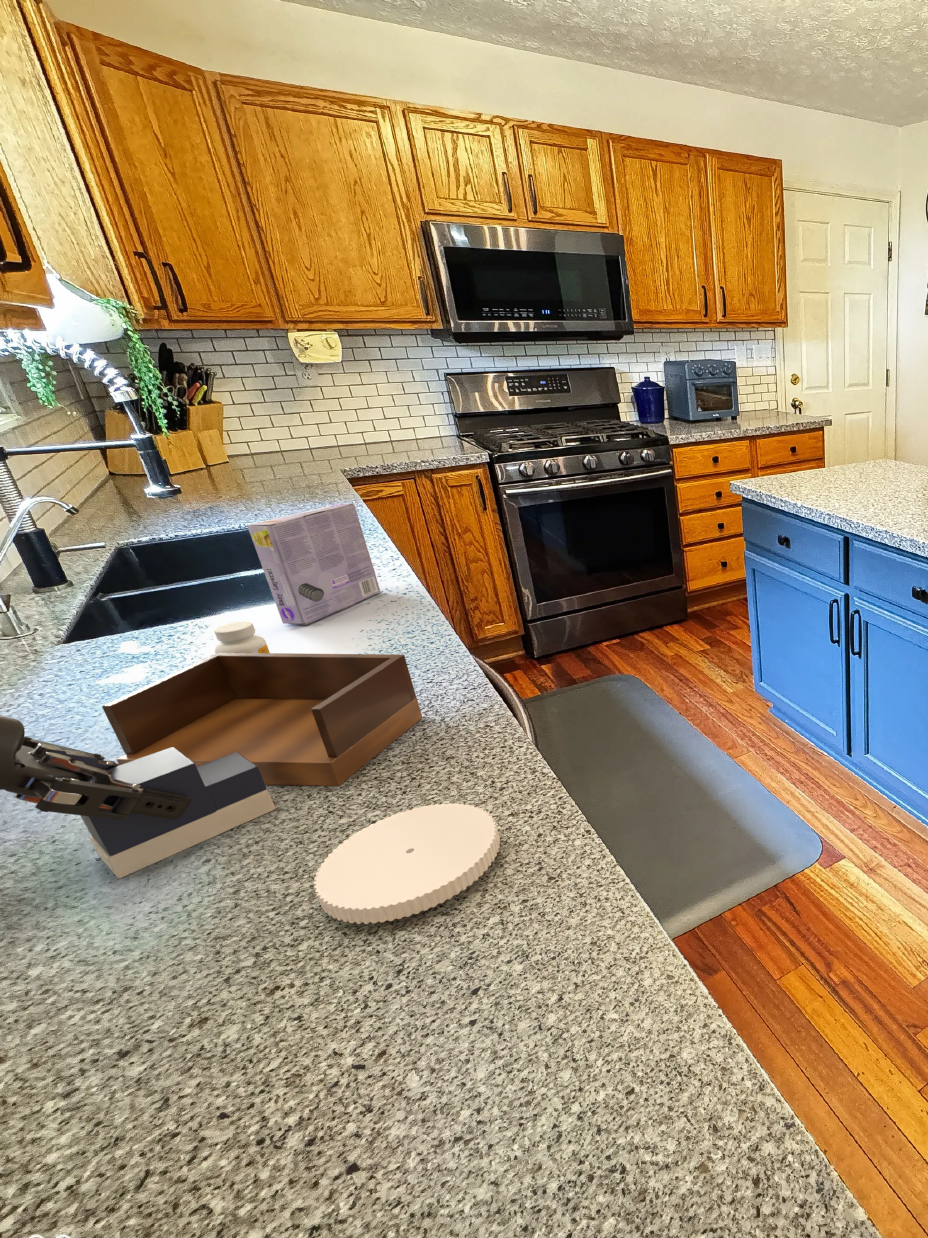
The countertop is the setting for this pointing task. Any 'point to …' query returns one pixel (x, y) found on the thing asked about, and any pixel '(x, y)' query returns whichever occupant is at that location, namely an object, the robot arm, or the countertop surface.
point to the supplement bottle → (239, 639)
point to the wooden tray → (273, 713)
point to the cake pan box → (315, 562)
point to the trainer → (216, 806)
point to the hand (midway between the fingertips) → (172, 797)
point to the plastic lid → (407, 863)
